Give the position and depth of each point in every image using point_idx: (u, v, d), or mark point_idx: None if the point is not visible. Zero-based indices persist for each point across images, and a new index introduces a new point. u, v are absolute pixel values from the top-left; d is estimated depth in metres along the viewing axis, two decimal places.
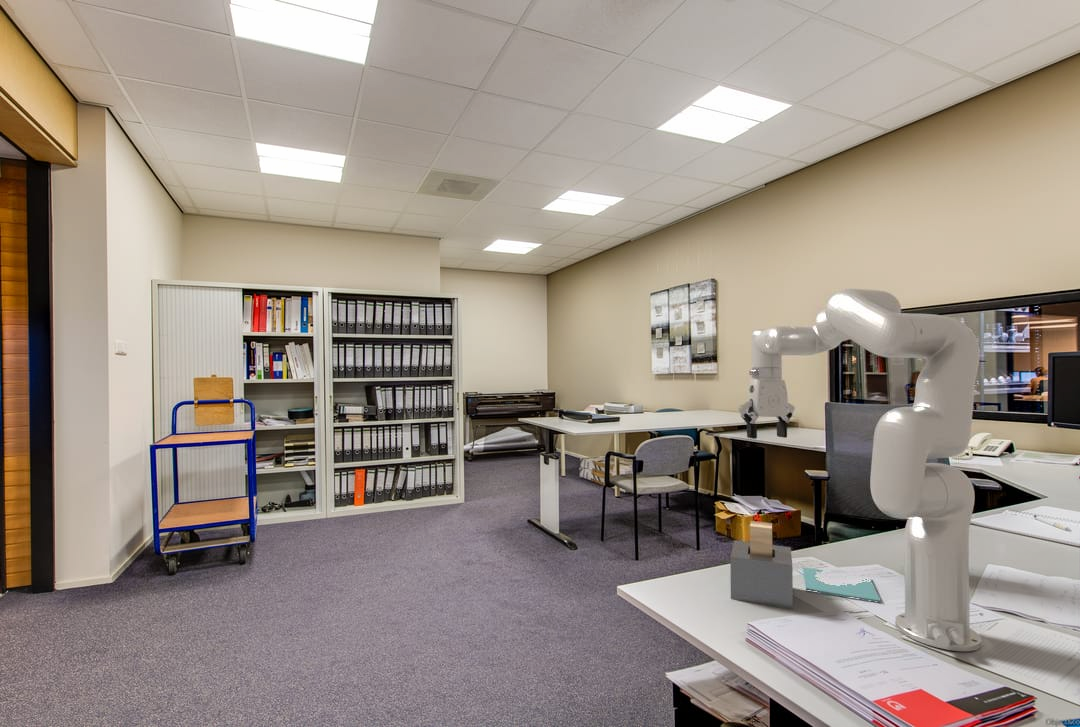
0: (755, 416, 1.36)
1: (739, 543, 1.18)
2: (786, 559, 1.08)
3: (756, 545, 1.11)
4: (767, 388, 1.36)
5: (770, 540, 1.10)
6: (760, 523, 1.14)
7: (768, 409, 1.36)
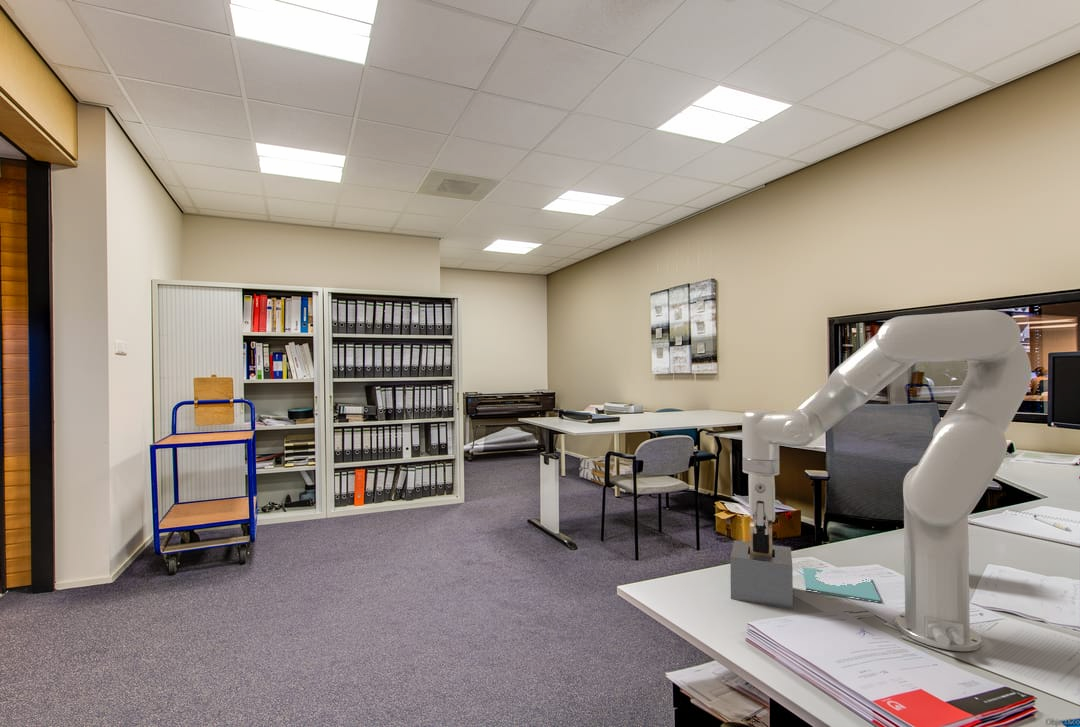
0: None
1: (739, 543, 1.18)
2: (786, 559, 1.08)
3: None
4: (774, 485, 1.10)
5: (770, 540, 1.10)
6: None
7: None
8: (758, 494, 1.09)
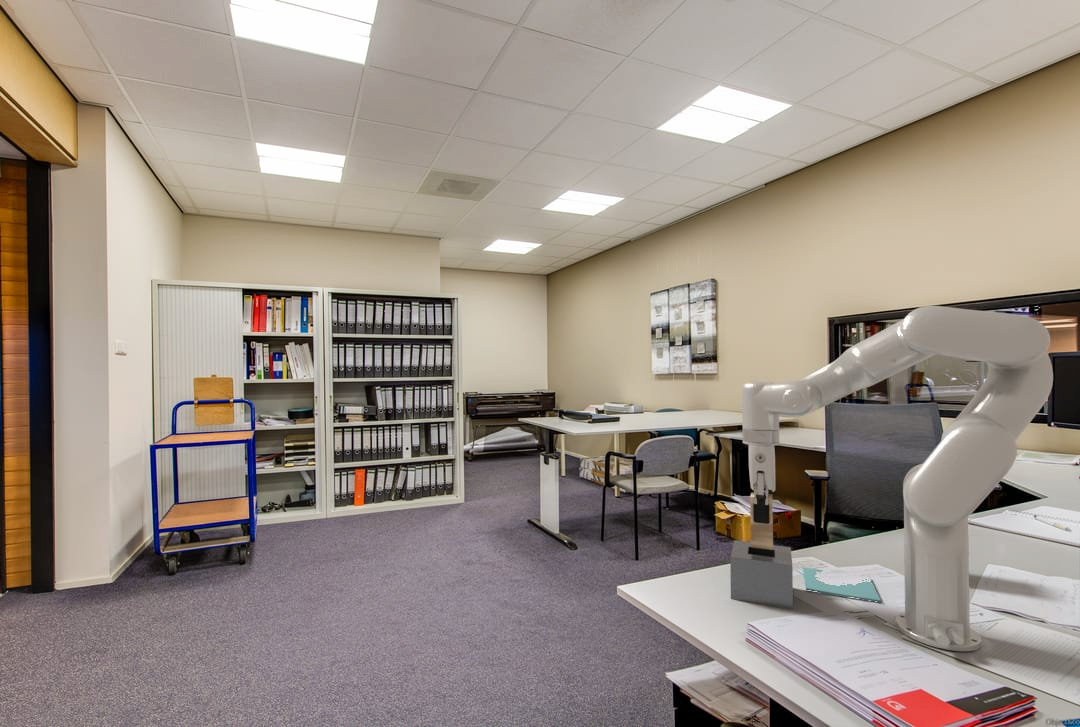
0: (767, 495, 1.10)
1: (739, 543, 1.18)
2: (786, 559, 1.08)
3: None
4: (774, 455, 1.10)
5: (770, 510, 1.10)
6: None
7: None
8: (758, 464, 1.09)
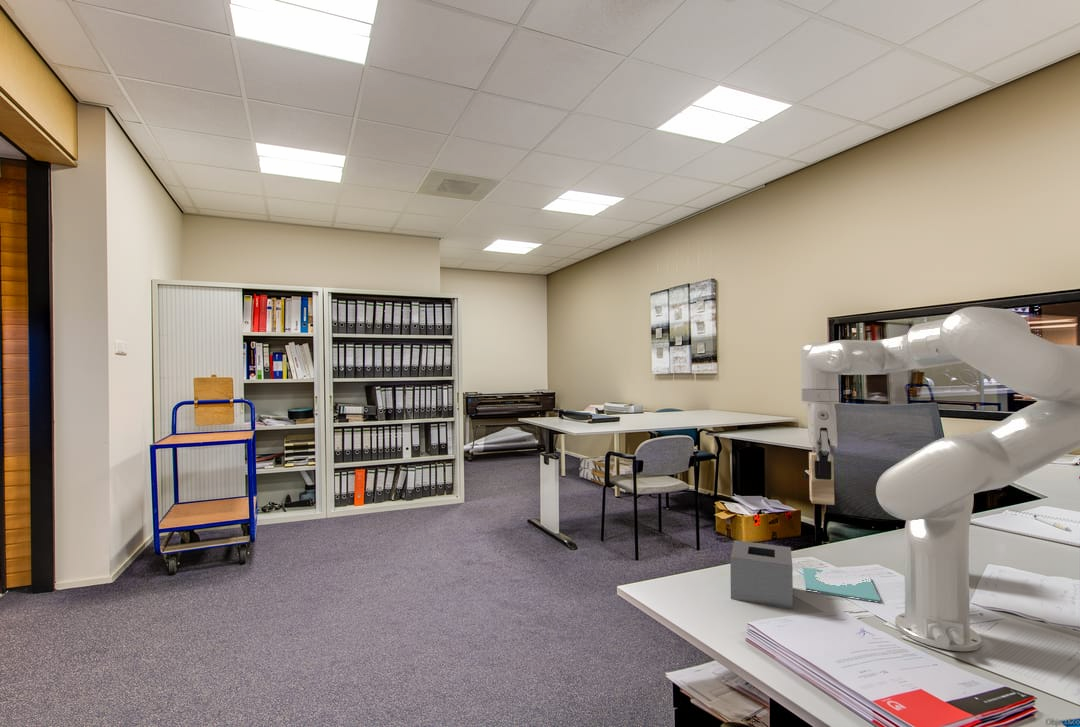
0: (829, 452, 1.13)
1: (739, 543, 1.18)
2: (786, 559, 1.08)
3: None
4: None
5: (831, 467, 1.14)
6: None
7: None
8: (821, 421, 1.12)
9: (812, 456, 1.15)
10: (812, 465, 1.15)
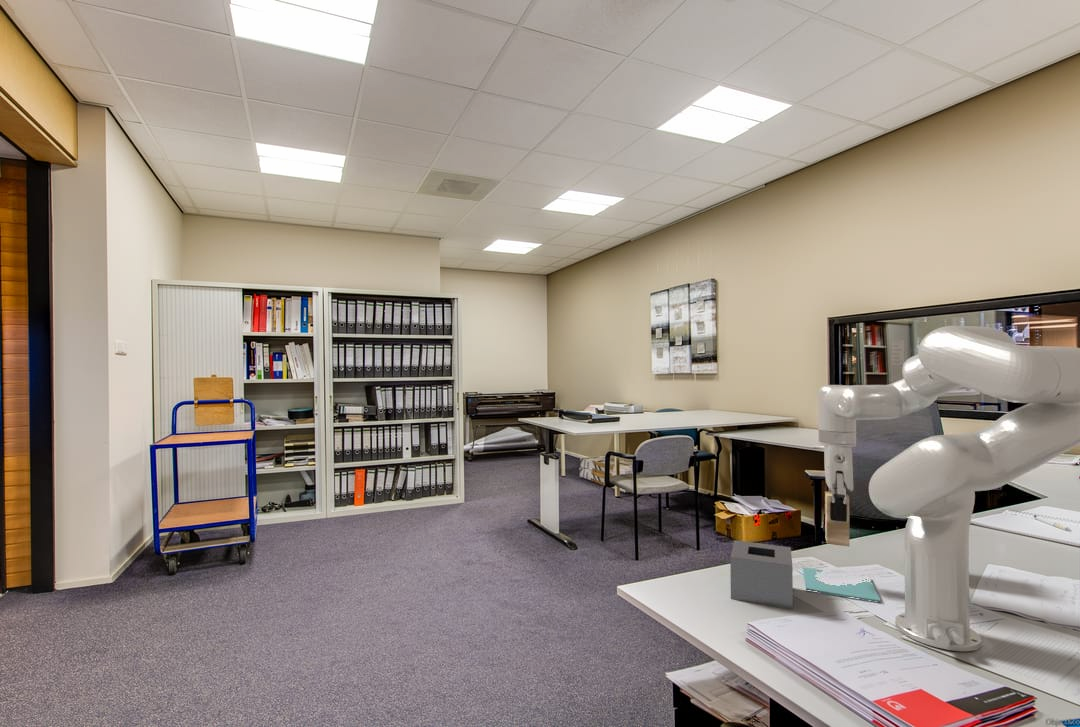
0: (845, 494, 1.14)
1: (739, 543, 1.18)
2: (786, 559, 1.08)
3: None
4: None
5: (847, 508, 1.15)
6: None
7: None
8: (837, 464, 1.13)
9: (828, 497, 1.16)
10: (828, 506, 1.16)
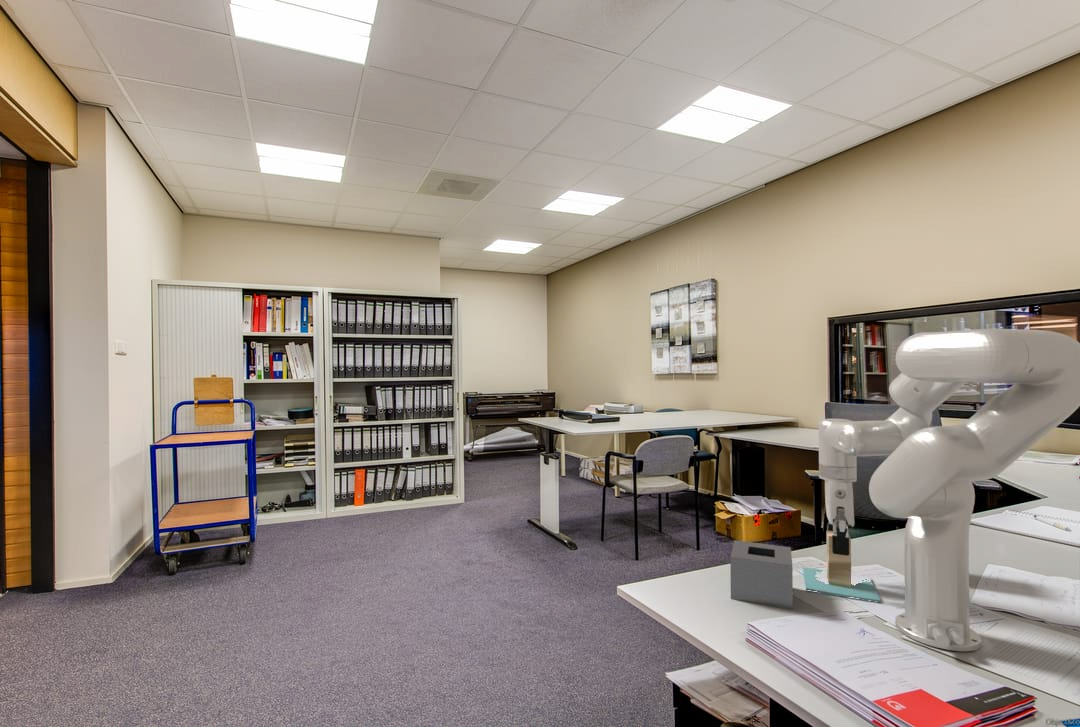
0: None
1: (739, 543, 1.18)
2: (786, 559, 1.08)
3: (835, 554, 1.15)
4: None
5: (849, 549, 1.14)
6: None
7: None
8: (838, 500, 1.13)
9: (829, 537, 1.16)
10: (829, 546, 1.16)
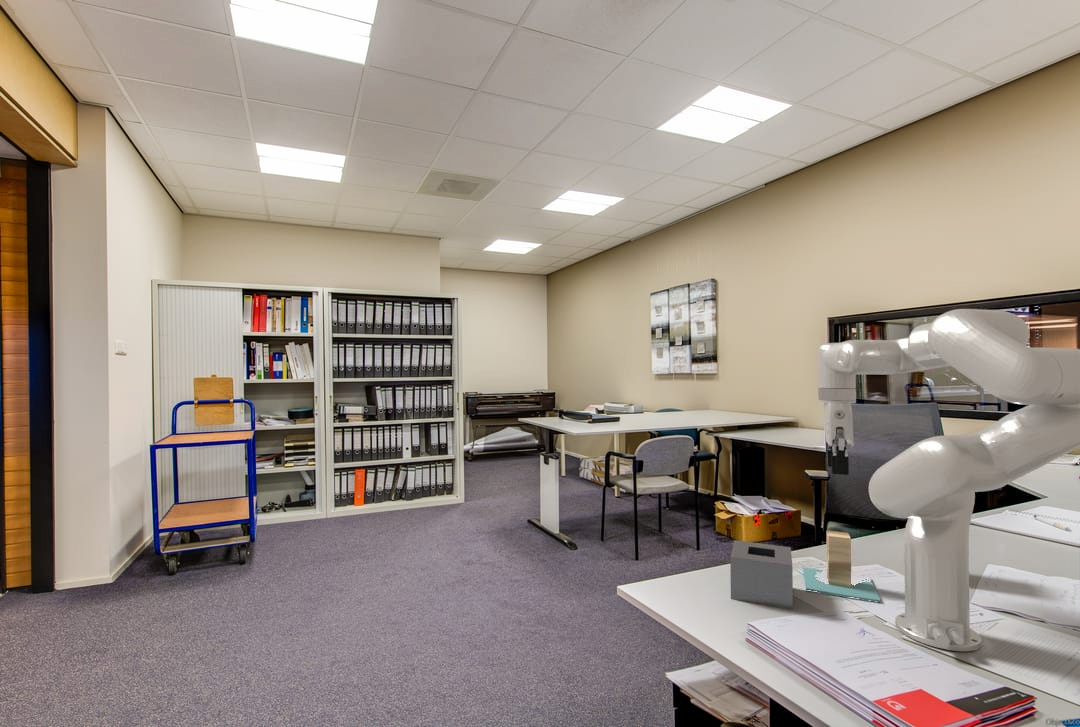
0: (846, 447, 1.13)
1: (739, 543, 1.18)
2: (786, 559, 1.08)
3: (835, 554, 1.15)
4: None
5: (849, 549, 1.14)
6: (837, 533, 1.18)
7: None
8: (837, 420, 1.14)
9: (829, 537, 1.16)
10: (829, 546, 1.16)
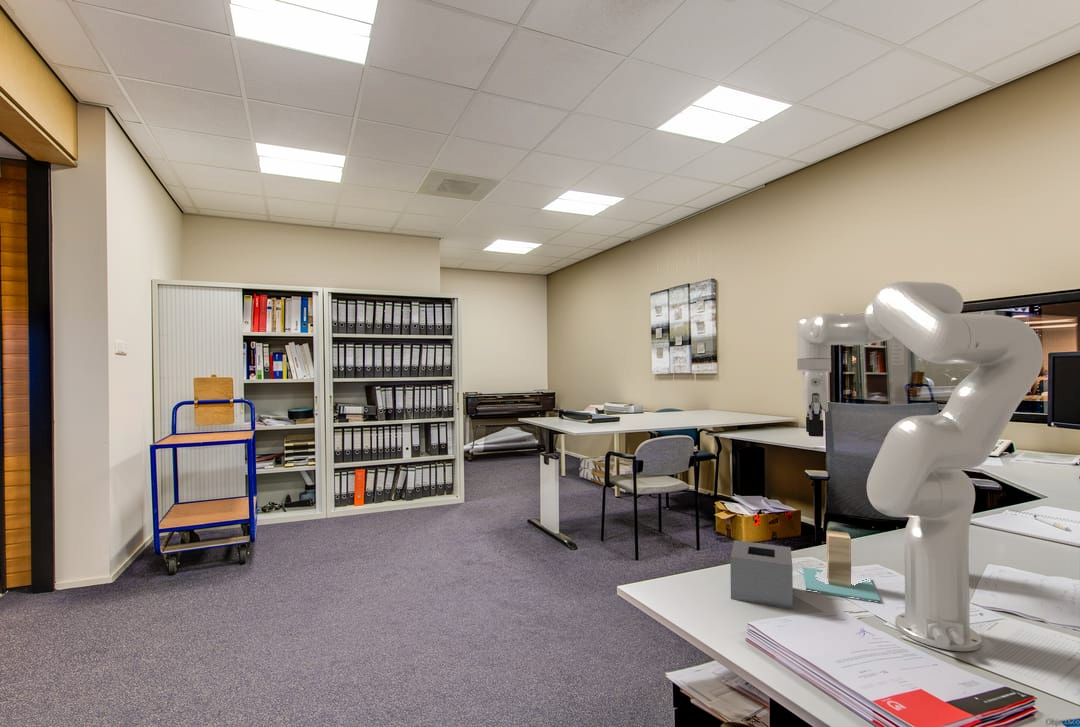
0: (821, 412, 1.24)
1: (739, 543, 1.18)
2: (786, 559, 1.08)
3: (835, 554, 1.15)
4: None
5: (849, 549, 1.14)
6: (837, 533, 1.18)
7: None
8: (813, 387, 1.24)
9: (829, 537, 1.16)
10: (829, 546, 1.16)
